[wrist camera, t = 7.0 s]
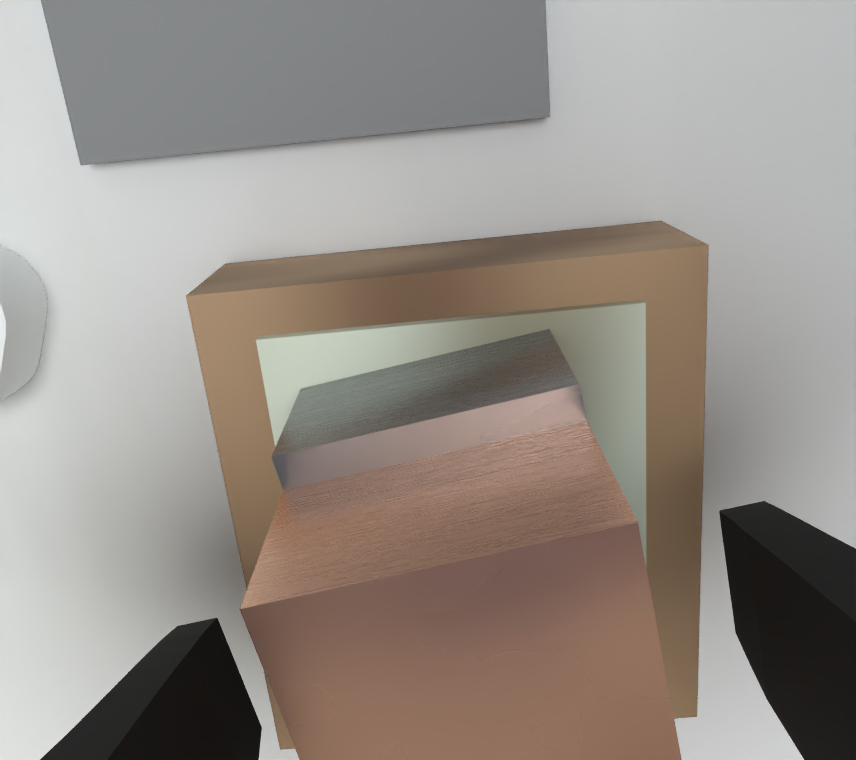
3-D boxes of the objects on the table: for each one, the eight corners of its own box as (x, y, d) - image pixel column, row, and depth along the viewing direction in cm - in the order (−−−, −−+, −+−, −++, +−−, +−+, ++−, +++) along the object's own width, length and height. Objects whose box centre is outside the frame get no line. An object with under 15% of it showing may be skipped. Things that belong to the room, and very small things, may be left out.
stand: (660, 221, 14) (712, 247, 12) (659, 631, 17) (700, 724, 15) (225, 263, 14) (181, 299, 12) (299, 661, 17) (278, 757, 15)
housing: (549, 328, 12) (629, 476, 7) (614, 641, 14) (710, 916, 9) (300, 388, 12) (222, 566, 8) (398, 685, 14) (385, 974, 10)
